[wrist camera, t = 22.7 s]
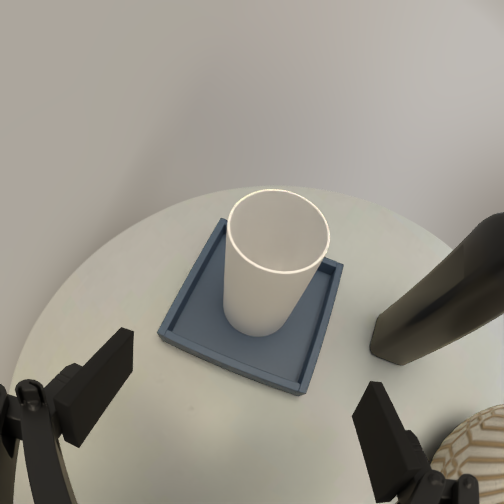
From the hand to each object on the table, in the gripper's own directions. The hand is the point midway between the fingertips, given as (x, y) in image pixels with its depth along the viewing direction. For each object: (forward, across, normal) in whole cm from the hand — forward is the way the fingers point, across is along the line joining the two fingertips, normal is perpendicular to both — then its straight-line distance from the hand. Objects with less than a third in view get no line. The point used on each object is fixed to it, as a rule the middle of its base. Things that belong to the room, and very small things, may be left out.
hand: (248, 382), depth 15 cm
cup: (+18, 0, -3) cm, 18 cm away
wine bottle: (+18, +17, -4) cm, 25 cm away
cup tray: (+18, 0, -3) cm, 19 cm away
